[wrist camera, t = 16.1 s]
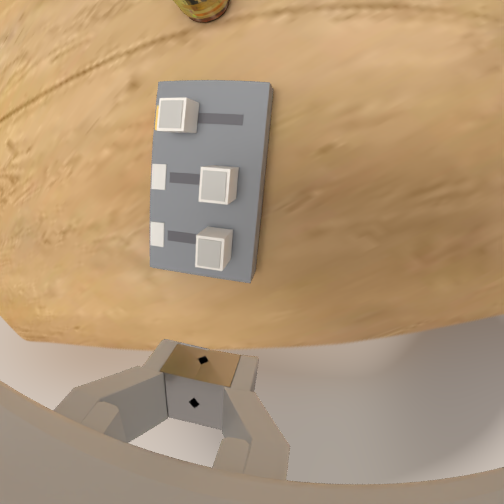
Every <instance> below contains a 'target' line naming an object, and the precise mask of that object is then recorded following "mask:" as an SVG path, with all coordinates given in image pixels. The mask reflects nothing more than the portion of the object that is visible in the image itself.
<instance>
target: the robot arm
mask: <svg viewBox="0 0 504 504" xmlns="http://www.w3.org/2000/svg"><path fill="white" fill-rule="evenodd" d="M258 361H259V358H258V357H255V356H248V355H237V354H232V353H226V352H221V351H215V350H210V349H207V348H202V347H198V346H194V345H189V344H185V343H181V342H180V343H179V342H177V341H172V340H168V339H164V340H162V341H161V342H160V344H159V345H158V346H157V347H156V349H155V350H154V351H153V353H152V354H151V356H150V357H149V358H148V360H147V361H146V362H145V364H144V365H143V366H142V367H140V366H136V367H133V368H130V369H128V370H125V371H122V372H120V373H116V374H114V375H111V376H108V377H105V378H102V379H99V380H97V381H94V382H90V383H88V384H84V385H81V386H78V387H75V388H73V389H72V391H71V392H70V393H69V394H68V395H67V396H66V397H65V398H64V400H63V401H62V402H61V403H60V404H59V405H58V406H57V407H56V408H55V410H50V409H49V408H47V407H45V406H43V405H41V404H39V403H37V402H36V401H33V400H32V399H30V398H28V397H27V396H25V395H23V394H21V393H19V392H18V391H16V390H14V389H13V388H11V387H10V386H8V385H6V384H5V383H3V382H1V381H0V504H504V467H502V468H498V469H494V470H489V471H485V472H480V473H475V474H470V475H464V476H458V477H453V478H445V479H439V480H430V481H421V482H410V483H396V484H367V485H366V484H355V485H354V484H325V483H310V482H298V481H288V480H286V476H287V468H288V460H289V451H290V445H289V444H288V442H287V441H286V439H285V438H284V436H283V435H282V433H281V432H280V430H279V429H278V427H277V426H276V424H275V423H274V421H273V420H272V418H271V417H270V415H269V413H268V412H267V410H266V409H265V407H264V406H263V404H262V403H261V401H260V399H259V398H258V396H257V395H256V393H255V392H254V390H255V383H256V376H257V369H258ZM168 417H170V418H174V419H178V420H182V421H187V422H192V423H196V424H199V425H203V426H207V427H211V428H216V429H220V430H222V433H223V435H224V439H222V441H221V444H220V447H219V450H218V453H217V455H216V458H215V461H214V464H213V467H212V468H211V467H207V466H202V465H198V464H194V463H190V462H186V461H183V460H179V459H175V458H172V457H169V456H165V455H162V454H159V453H155V452H152V451H149V450H146V449H143V448H140V447H137V446H134V445H131V444H129V443H128V442H130V441H131V440H133V439H135V438H137V437H138V436H140V435H142V434H143V433H145V432H147V431H148V430H150V429H152V428H153V427H155V426H157V425H158V424H160V423H161V422H163V421H165V420H166V419H167V418H168Z"/></svg>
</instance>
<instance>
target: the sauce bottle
mask: <svg viewBox="0 0 504 504" xmlns="http://www.w3.org/2000/svg"><path fill="white" fill-rule="evenodd" d="M173 1H174V2H175V3H176V4H177V5H178V7H179V8H180V9H181V10H182V11H183V13H184V14H186V15H187V16H188V17H189V18H190V19H192V20H194V21H198V22H208V21H211V20H214V19H216V18H218V17H220V16H221V15H222V14H223V13H224V12H225V10H226V9H227V6H228V3H229V0H173Z"/></svg>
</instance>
